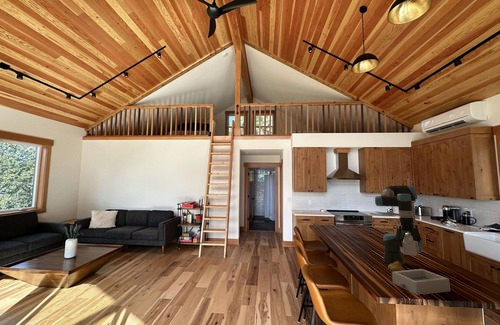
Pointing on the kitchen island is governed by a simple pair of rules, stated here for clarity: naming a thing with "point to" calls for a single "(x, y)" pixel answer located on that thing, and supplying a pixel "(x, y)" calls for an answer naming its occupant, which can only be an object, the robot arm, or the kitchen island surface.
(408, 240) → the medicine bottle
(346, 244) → the kitchen island surface
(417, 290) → the grey rectangular tray
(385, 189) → the robot arm
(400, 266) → the bread roll
